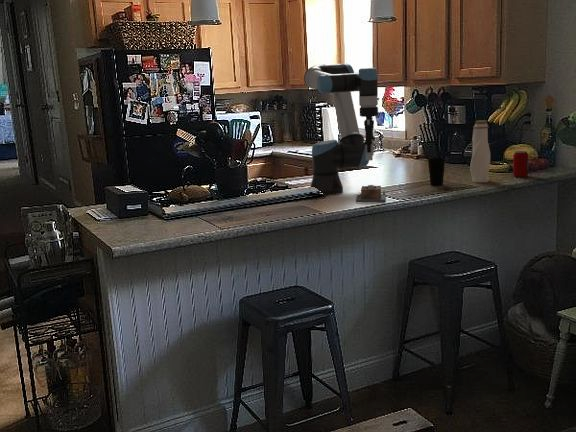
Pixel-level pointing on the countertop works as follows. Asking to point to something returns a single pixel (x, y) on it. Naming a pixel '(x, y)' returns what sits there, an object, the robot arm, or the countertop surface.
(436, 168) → the cup
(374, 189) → the collar
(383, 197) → the post base
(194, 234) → the countertop surface
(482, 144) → the water bottle
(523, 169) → the beverage can
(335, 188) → the robot arm
